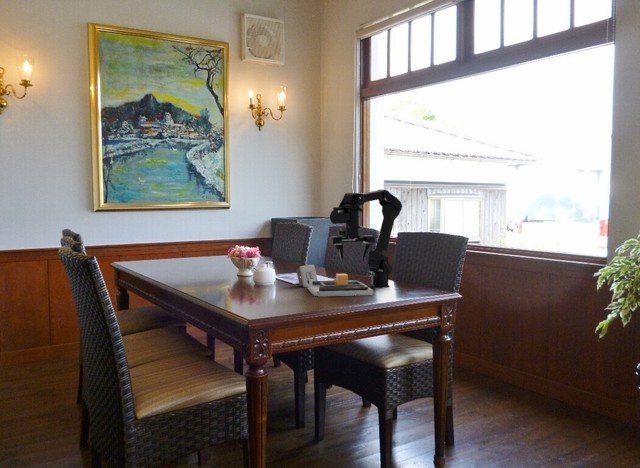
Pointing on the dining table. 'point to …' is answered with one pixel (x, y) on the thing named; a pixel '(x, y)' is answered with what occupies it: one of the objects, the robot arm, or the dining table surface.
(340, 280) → the orange cube block
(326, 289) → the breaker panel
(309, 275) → the electrical switch
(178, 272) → the dining table surface
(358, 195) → the robot arm
